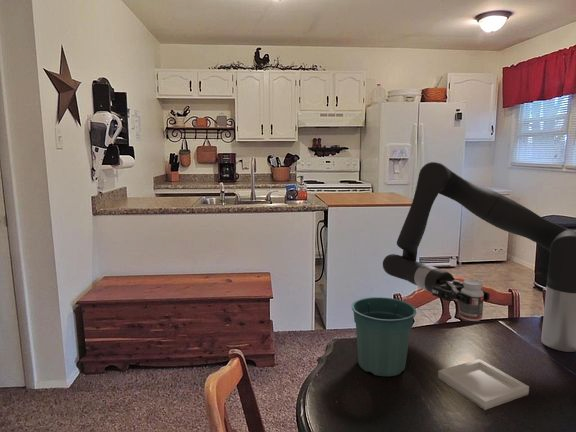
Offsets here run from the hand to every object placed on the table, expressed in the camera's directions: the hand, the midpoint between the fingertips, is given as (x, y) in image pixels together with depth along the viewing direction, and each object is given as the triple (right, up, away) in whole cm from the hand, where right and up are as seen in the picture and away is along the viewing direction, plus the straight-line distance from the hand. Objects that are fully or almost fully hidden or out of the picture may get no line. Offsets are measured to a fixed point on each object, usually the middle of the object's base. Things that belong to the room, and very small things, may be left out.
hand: (479, 299), depth 107 cm
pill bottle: (-1, -6, +3) cm, 7 cm away
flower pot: (-25, -18, +2) cm, 31 cm away
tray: (-3, -19, -8) cm, 21 cm away
